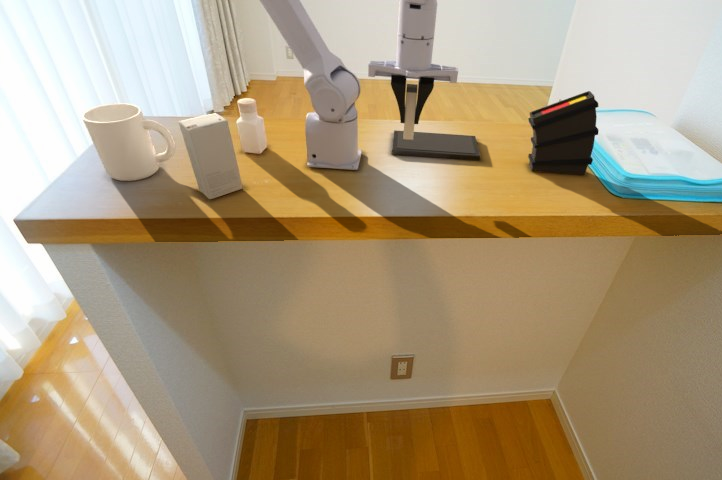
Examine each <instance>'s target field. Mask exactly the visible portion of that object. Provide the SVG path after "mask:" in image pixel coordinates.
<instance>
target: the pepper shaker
mask: <svg viewBox="0 0 722 480" xmlns="http://www.w3.org/2000/svg"><path fill="white" fill-rule="evenodd" d="M236 102H237V103H236V104H237V108H238V112H239V116H240V117H238V119H237V120H236V127H237V133H238V137H239V143H240V147H241V151H242V152H243V153H249V154H257V155H259V154H262V153H263V152H264V151H265V150H266V148H267V147H268V140H267V134H266V127H265V121H264V118H263V117H262V116H260V115H258V106H257V101H256V100H255V99H254V98H250V97H244V98H240V99H238V100H237V101H236Z"/></svg>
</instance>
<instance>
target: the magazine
mask: <svg viewBox="0 0 722 480" xmlns="http://www.w3.org/2000/svg"><path fill="white" fill-rule="evenodd" d="M597 108H599V102H598V101H597V100H596V99H595V95H594V93H593V92H592V91H591V90H588V91H585V92H582V93H579V94H576V95H574V96H571V97H568V98H565V99H563V100H560V101H557V102H554V103H552V104H551V103H550V104H548V105H546V106H542V107H540V108H538V109H535V110H532V111H530V112H529V117H528V123H529V125H530V127H531V129H532V136H531V137H530V141H531V143H532V149H531V153H528V155H527V158H528V160H529V161H528V167H529V169H530V171H531V172H536V173H551V174H564V175H579V176H585V175H586V173H587V169H588V166H590V165H593V161H594V159H593V157H592V153H593V149H594V145H595V138H596V136H598V135H599V128H598V126H597Z"/></svg>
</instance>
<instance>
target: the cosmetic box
mask: <svg viewBox="0 0 722 480" xmlns="http://www.w3.org/2000/svg"><path fill="white" fill-rule="evenodd" d="M177 123H178V126H179V129H180V133H181V137H182V139H183V142H184V145H185V148H186V151H187V156H188V158H189V162H190V164H191V168H192V171H193V174H194V178H195V180H196V184H197V187H198V189H199V191H200V192H201V193H202V194H203V195H204V196H205V197H206V198H207V199H208V200H213V199H216V198H219V197H222V196H225V195H228V194H230V193H234V192H236V191H239V190H243V188H244V187H243V183H242V177H241V174H240V169H239V165H238V160H237V156H236V155H237V154H236V152H235V146H234V143H233V138H232V134H231V130H230V126H229V121H228V120H227V119H226V118H225V117H223V116H222V115H220V114H218V113H217V112H214V113H209V114H203V115H199V116H197V117H196V116H195V117H191V118H187V119H182V120H178V122H177Z"/></svg>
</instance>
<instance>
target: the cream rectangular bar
mask: <svg viewBox="0 0 722 480" xmlns="http://www.w3.org/2000/svg"><path fill="white" fill-rule="evenodd" d="M417 95H418V84H415V83H406V92H405V122H404V123H403V131H404V134H403V139H410V140H413V135H414V132H415V124H414V121H415V111H416V104H417Z"/></svg>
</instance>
